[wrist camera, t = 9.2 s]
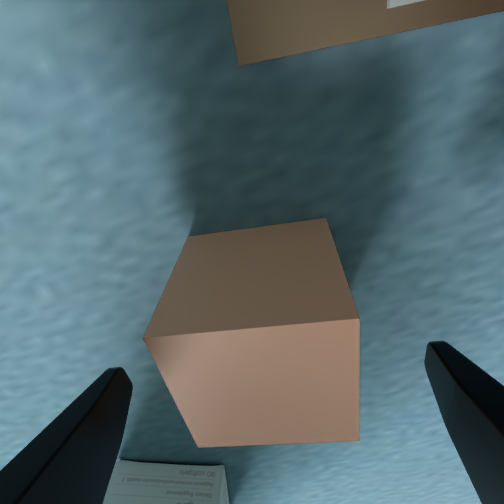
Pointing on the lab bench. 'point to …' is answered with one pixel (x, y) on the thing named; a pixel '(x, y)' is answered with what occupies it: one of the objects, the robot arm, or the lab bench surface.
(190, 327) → the terracotta block
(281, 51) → the board
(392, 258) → the lab bench surface
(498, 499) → the robot arm
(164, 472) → the supplement box
